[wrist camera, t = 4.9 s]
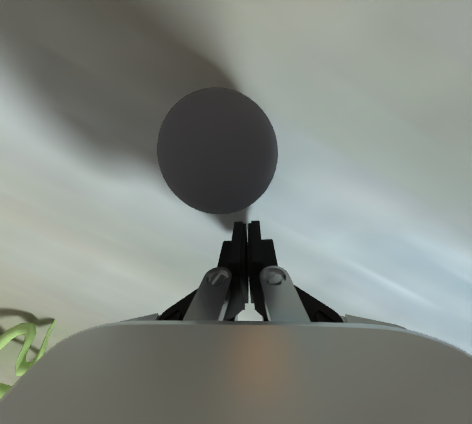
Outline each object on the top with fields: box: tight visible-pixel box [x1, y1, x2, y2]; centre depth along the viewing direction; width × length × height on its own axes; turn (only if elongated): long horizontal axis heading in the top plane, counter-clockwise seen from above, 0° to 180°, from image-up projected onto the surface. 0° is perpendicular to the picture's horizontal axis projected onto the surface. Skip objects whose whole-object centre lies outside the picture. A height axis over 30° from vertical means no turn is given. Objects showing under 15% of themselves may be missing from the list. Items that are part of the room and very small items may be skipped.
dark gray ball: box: [157, 88, 278, 214], centre depth 8 cm, size 6×6×6 cm
